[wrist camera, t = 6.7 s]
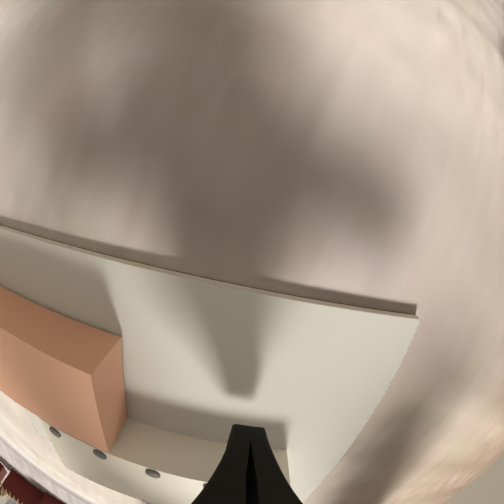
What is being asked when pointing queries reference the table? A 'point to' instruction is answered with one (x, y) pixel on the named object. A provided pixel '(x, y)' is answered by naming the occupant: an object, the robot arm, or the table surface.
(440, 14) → the table surface
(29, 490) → the toy houses
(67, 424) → the stub
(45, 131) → the table surface
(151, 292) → the mat
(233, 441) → the robot arm
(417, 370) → the table surface
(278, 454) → the ticket book
